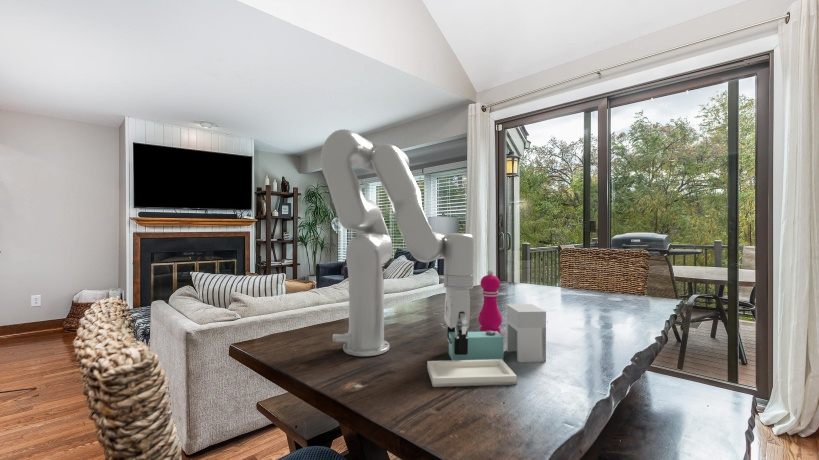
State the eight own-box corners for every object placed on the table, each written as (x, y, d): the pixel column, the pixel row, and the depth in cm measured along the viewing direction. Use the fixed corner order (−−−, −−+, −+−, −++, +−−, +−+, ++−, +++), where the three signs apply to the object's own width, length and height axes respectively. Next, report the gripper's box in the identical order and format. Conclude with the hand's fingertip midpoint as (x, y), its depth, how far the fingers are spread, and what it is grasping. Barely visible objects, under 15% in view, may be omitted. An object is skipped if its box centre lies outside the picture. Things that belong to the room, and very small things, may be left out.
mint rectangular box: (450, 361, 93) (450, 335, 93) (446, 355, 98) (446, 330, 98) (503, 360, 94) (503, 334, 94) (497, 353, 99) (497, 328, 99)
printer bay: (518, 362, 92) (518, 311, 92) (506, 350, 101) (506, 304, 101) (545, 361, 92) (546, 311, 92) (531, 349, 101) (531, 303, 101)
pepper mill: (500, 330, 120) (500, 268, 119) (503, 337, 112) (503, 271, 112) (477, 330, 120) (477, 268, 120) (479, 336, 113) (479, 271, 113)
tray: (432, 386, 78) (432, 378, 78) (427, 368, 88) (427, 361, 88) (516, 384, 79) (516, 375, 79) (501, 366, 89) (501, 359, 89)
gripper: (438, 276, 104) (437, 337, 104) (449, 286, 86) (448, 360, 87) (465, 276, 104) (464, 337, 104) (481, 287, 87) (480, 359, 87)
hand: (456, 347), depth 95 cm, fingers open, 9 cm apart
